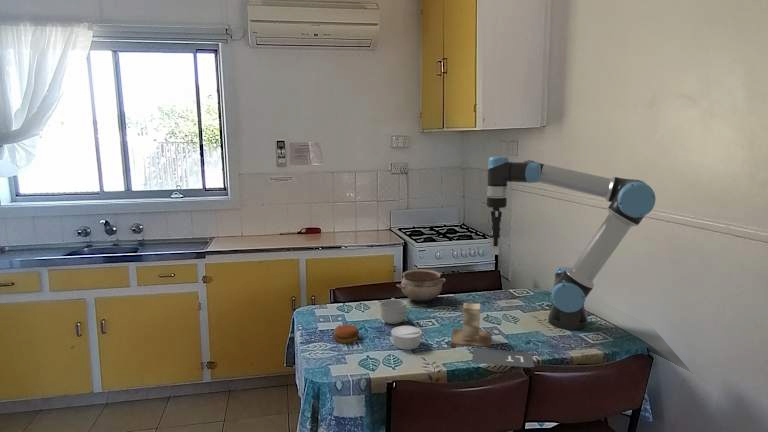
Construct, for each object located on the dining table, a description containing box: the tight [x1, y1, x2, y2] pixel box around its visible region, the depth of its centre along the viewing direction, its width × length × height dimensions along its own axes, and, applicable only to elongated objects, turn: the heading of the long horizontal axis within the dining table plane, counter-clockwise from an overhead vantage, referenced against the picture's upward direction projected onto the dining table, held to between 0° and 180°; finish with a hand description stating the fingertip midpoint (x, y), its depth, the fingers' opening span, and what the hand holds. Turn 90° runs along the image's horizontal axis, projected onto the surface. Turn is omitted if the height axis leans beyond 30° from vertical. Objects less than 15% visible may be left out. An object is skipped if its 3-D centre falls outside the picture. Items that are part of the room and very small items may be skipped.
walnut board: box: [450, 328, 491, 348], centre depth 193 cm, size 14×14×2 cm
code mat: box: [471, 348, 535, 368], centre depth 176 cm, size 20×12×1 cm, turn 79°
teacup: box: [379, 297, 407, 325], centre depth 214 cm, size 14×11×8 cm
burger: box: [333, 324, 360, 344], centre depth 195 cm, size 10×9×5 cm
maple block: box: [462, 302, 481, 341], centre depth 192 cm, size 6×6×12 cm
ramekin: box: [390, 325, 423, 350], centre depth 189 cm, size 11×11×5 cm
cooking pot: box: [396, 269, 447, 303], centre depth 239 cm, size 25×19×12 cm
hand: (494, 250), depth 204 cm, fingers open, 13 cm apart
